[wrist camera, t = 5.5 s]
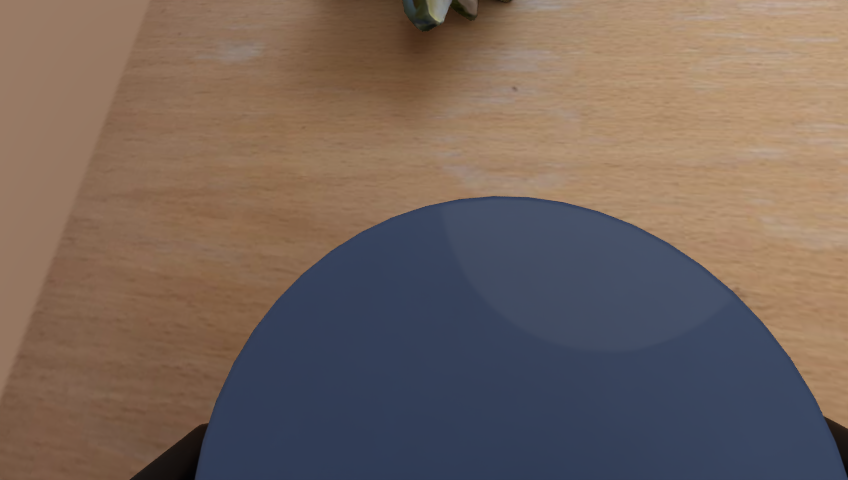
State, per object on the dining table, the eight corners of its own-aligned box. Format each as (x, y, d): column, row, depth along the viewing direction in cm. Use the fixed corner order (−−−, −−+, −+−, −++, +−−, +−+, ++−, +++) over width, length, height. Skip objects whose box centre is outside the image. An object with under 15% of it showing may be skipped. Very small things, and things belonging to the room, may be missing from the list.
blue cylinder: (521, 620, 14) (737, 1250, 3) (347, 501, 15) (46, 621, 4) (604, 427, 16) (944, 361, 5) (441, 336, 17) (398, 115, 6)
